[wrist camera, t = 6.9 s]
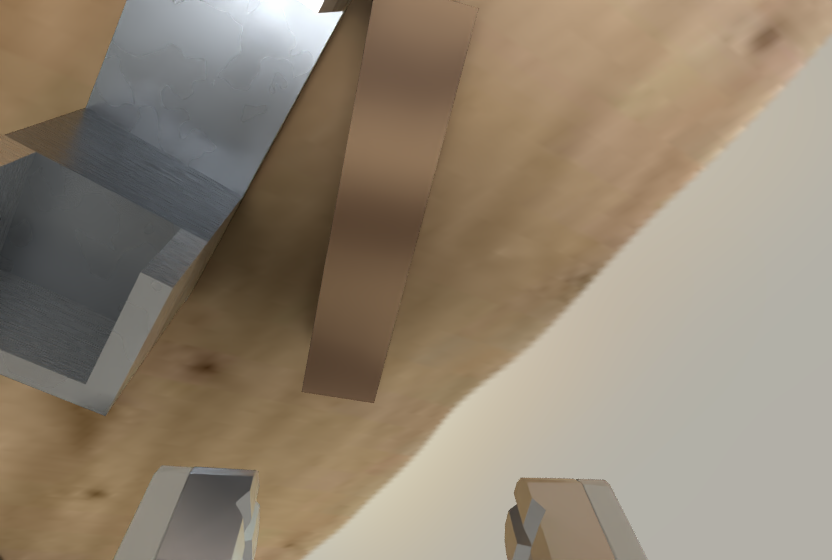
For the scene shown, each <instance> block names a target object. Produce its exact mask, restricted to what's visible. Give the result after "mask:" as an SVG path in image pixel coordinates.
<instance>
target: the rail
mask: <svg viewBox="0 0 832 560" xmlns="http://www.w3.org/2000/svg"><path fill="white" fill-rule="evenodd" d="M478 9H479V8H476V7H472V6H469V5H465V4H462V3H458V2H455V1H451V0H373V4H372V9H371V15H370V20H369V26H368V31H367V36H366V42H365V47H364V53H363V58H362V64H361V69H360V75H359V80H358V86H357V91H356V97H355V102H354V108H353V113H352V119H351V124H350V130H349V135H348V141H347V146H346V152H345V157H344V163H343V168H342V174H341V179H340V185H339V190H338V196H337V201H336V207H335V212H334V217H333V223H332V228H331V234H330V239H329V245H328V250H327V256H326V261H325V267H324V272H323V278H322V283H321V289H320V294H319V300H318V305H317V311H316V316H315V322H314V327H313V333H312V338H311V344H310V349H309V355H308V360H307V366H306V371H305V377H304V382H303V388H302V392H305V393H312V394H318V395H325V396H331V397H338V398H344V399H351V400H357V401H364V402H370V403H374V401H375V397H376V394H377V390H378V386H379V382H380V379H381V375H382V371H383V367H384V363H385V360H386V356H387V352H388V348H389V345H390V341H391V337H392V333H393V330H394V326H395V322H396V318H397V314H398V311H399V307H400V303H401V299H402V296H403V292H404V288H405V284H406V281H407V277H408V273H409V269H410V265H411V262H412V258H413V254H414V250H415V247H416V243H417V239H418V235H419V232H420V228H421V224H422V220H423V216H424V213H425V209H426V205H427V201H428V198H429V194H430V190H431V186H432V183H433V179H434V175H435V171H436V167H437V164H438V160H439V156H440V152H441V149H442V145H443V141H444V137H445V134H446V130H447V126H448V122H449V118H450V115H451V111H452V107H453V103H454V100H455V96H456V92H457V88H458V85H459V81H460V77H461V73H462V69H463V66H464V62H465V58H466V54H467V51H468V47H469V43H470V39H471V36H472V32H473V28H474V24H475V20H476V17H477V13H478Z"/></svg>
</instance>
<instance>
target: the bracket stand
mask: <svg viewBox="0 0 832 560" xmlns="http://www.w3.org/2000/svg"><path fill="white" fill-rule="evenodd" d="M350 1H351V0H127V1H126V4H125V6H124V9H123V12H122V14H121V17H120V20H119V22H118V25H117V27H116V30H115V33H114V35H113V38H112V41H111V43H110V46H109V49H108V51H107V54H106V56H105V59H104V62H103V64H102V67H101V70H100V72H99V75H98V77H97V80H96V83H95V85H94V88H93V91H92V93H91V96H90V98H89V101H88V104H87V106H86V108H84V109H81V110H78V111H75V112H72V113H69V114H66V115H63V116H60V117H57V118H54V119H51V120H48V121H45V122H42V123H39V124H36V125H33V126H30V127H27V128H24V129H21V130H18V131H15V132H12V133H9V134H6V135H3V136H0V374H1V375H3V376H6V377H8V378H11V379H13V380H16V381H18V382H21V383H23V384H26V385H28V386H31V387H33V388H36V389H38V390H41V391H43V392H46V393H48V394H51V395H54V396H56V397H59V398H61V399H64V400H66V401H69V402H71V403H74V404H76V405H79V406H81V407H84V408H86V409H89V410H91V411H94V412H96V413H99V414H101V415H104V416H106V415H107V413H108V412H109V410H110V409H111V407H112V406H113V404H114V403H115V401H116V400H117V399H118V397H119V396H120V394H121V393H122V391H123V390H124V388H125V387H126V386H127V384H128V383H129V381H130V380H131V378H132V377H133V375H134V374H135V372H136V371H137V370H138V368H139V367H140V365H141V364H142V362H143V361H144V359H145V358H146V356H147V355H148V354H149V352H150V351H151V349H152V348H153V346H154V345H155V343H156V342H157V341H158V339H159V338H160V336H161V335H162V333H163V332H164V330H165V329H166V327H167V326H168V325H169V323H170V322H171V320H172V319H173V317H174V316H175V314H176V313H177V311H178V310H179V309H180V307H181V306H182V304H183V303H184V301H186V300H187V299H188V297H189V296H190V294H191V292H192V291H193V289H194V287H195V285H196V283H197V281H198V280H199V278H200V276H201V274H202V272H203V270H204V269H205V267H206V265H207V263H208V261H209V259H210V258H211V256H212V254H213V252H214V250H215V248H216V247H217V245H218V243H219V241H220V239H221V237H222V236H223V234H224V232H225V230H226V228H227V226H228V225H229V223H230V221H231V219H232V217H233V215H234V214H235V212H236V210H237V208H238V206H239V204H240V203H241V201H242V199H243V197H244V195H245V193H246V192H247V190H248V188H249V186H250V184H251V182H252V181H253V179H254V177H255V175H256V173H257V171H258V170H259V168H260V166H261V164H262V162H263V160H264V159H265V157H266V155H267V153H268V151H269V149H270V148H271V146H272V144H273V142H274V140H275V139H276V137H277V135H278V133H279V131H280V129H281V128H282V126H283V124H284V122H285V120H286V118H287V117H288V115H289V113H290V111H291V109H292V107H293V106H294V104H295V102H296V100H297V98H298V96H299V95H300V93H301V91H302V89H303V87H304V85H305V84H306V82H307V80H308V78H309V76H310V74H311V73H312V71H313V69H314V67H315V65H316V63H317V62H318V60H319V58H320V56H321V54H322V52H323V51H324V49H325V47H326V45H327V43H328V41H329V40H330V38H331V36H332V34H333V32H334V30H335V29H336V27H337V25H338V23H339V21H340V19H341V18H342V16H343V14H344V12H345V10H346V8H347V7H348V5H349V3H350Z"/></svg>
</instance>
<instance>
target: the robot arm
mask: <svg viewBox="0 0 832 560" xmlns="http://www.w3.org/2000/svg"><path fill="white" fill-rule="evenodd" d="M258 489H259V472H258V471H257V470H243V469H226V468H208V467H182V466H161V467H160V468H159V469H158V470H157V471H156V473H155V474H154V475H153V477H152V479H151V482H150V484H149V486H148V488H147V490H146V492H145V494H144V496H143V498H142V500H141V502H140V505H139V507H138V509H137V511H136V513H135V515H134V517H133V519H132V521H131V523H130V525H129V527H128V530H127V532H126V534H125V536H124V538H123V540H122V542H121V544H120V546H119V548H118V550H117V553H116V555H115V557H114V559H113V560H254V556H255V551H256V546H257V539H258V532H259V520H260V505H259V504H258V503H257V502H256V498H257V494H258ZM514 495H515V499H516V502H517V505H515V506H514V507H513V508H511V509H510V510H509V511H508V515H507V519H506V523H505V547H506V555H507V559H508V560H648V559H647V557H646V555H645V553H644V551H643V549H642V547H641V545H640V543H639V541H638V539H637V537H636V535H635V533H634V531H633V529H632V527H631V525H630V523H629V521H628V519H627V517H626V516H625V513H624V511H623V509H622V508H621V505H620V503H619V501H618V499H617V498H616V496H615V494H614V492H613V490H612V488H611V486H610V484H609V483H608V482H607V481H605V480H595V479H576V480H575V479H565V478H520V480H519V481H518V482H517V484H516V488H515V491H514Z"/></svg>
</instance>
